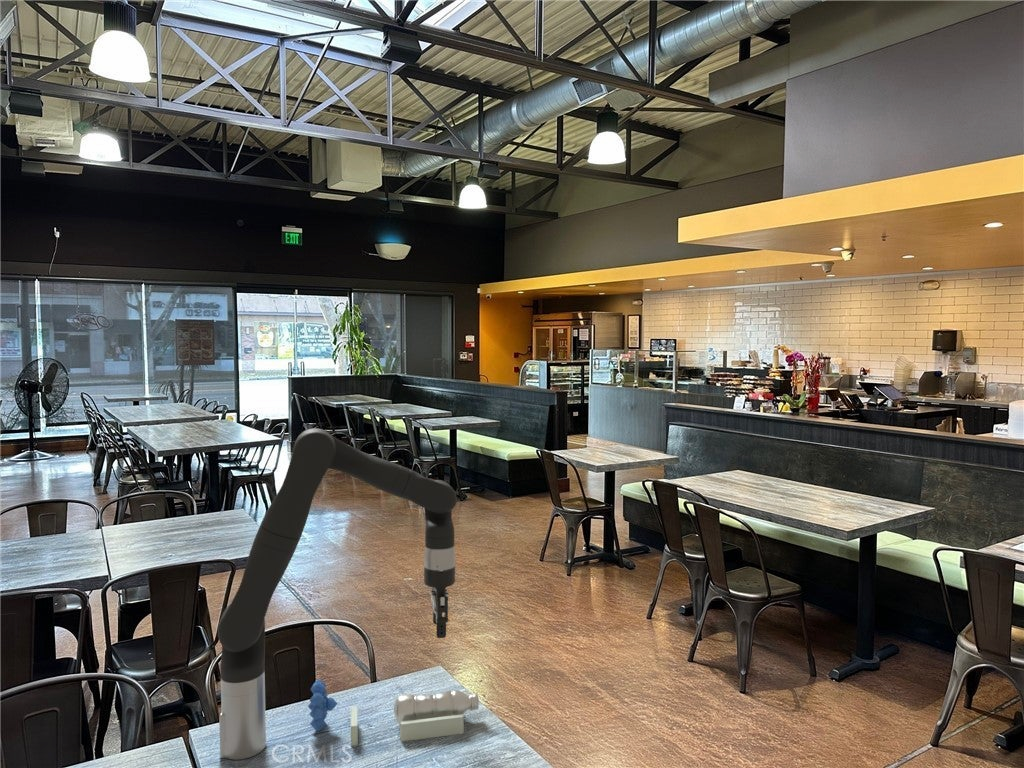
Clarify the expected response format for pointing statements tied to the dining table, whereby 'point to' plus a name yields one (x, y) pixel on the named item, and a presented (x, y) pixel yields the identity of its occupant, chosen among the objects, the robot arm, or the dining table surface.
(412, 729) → the cradle
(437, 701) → the silver metal bottle
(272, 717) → the dining table surface
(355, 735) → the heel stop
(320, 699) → the grapes
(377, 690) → the dining table surface
